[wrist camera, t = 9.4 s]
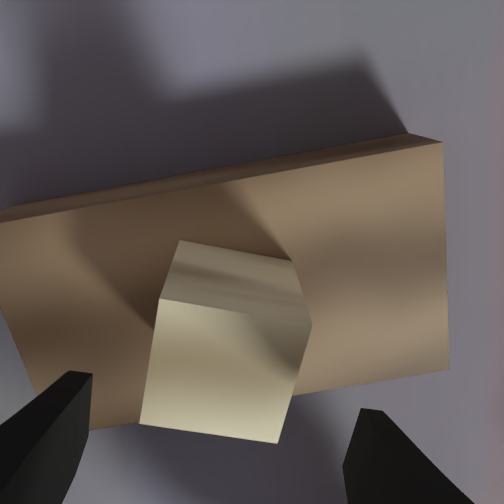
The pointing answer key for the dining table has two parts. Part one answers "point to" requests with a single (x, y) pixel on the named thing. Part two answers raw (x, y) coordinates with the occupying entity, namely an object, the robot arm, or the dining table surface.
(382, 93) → the dining table surface
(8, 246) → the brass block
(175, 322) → the birch cube
